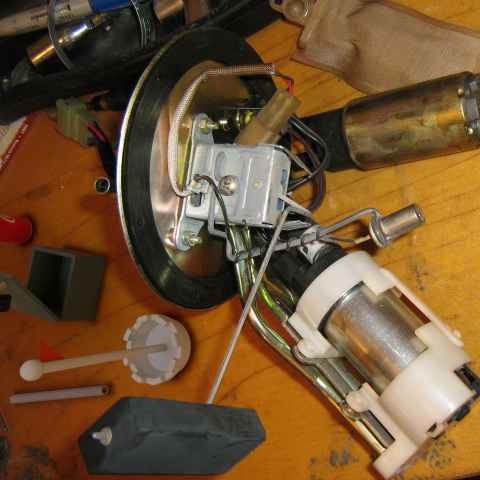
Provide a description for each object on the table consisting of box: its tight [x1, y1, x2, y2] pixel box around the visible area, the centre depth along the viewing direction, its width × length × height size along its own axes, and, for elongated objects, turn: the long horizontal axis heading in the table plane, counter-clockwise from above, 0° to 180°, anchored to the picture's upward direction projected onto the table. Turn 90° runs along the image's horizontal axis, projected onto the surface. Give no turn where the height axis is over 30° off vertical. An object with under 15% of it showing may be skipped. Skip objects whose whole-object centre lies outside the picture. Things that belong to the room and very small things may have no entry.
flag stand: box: [19, 313, 192, 386], centre depth 77 cm, size 13×13×30 cm
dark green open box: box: [24, 245, 107, 323], centre depth 98 cm, size 14×13×8 cm
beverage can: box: [0, 213, 33, 244], centre depth 104 cm, size 6×6×12 cm
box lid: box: [0, 271, 62, 325], centre depth 87 cm, size 14×13×6 cm
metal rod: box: [9, 384, 110, 405], centre depth 99 cm, size 2×27×2 cm, turn 98°
